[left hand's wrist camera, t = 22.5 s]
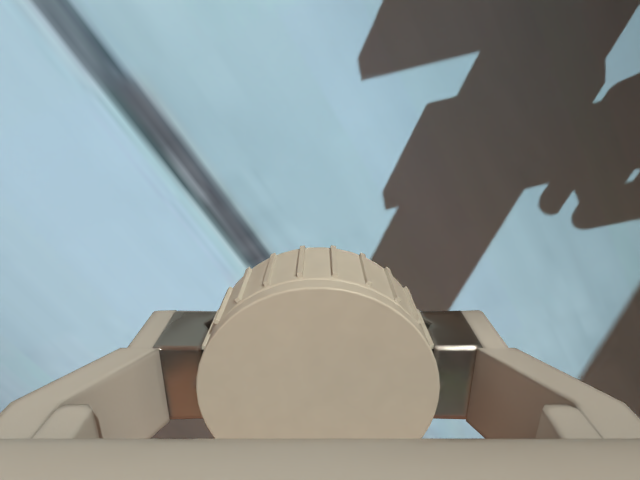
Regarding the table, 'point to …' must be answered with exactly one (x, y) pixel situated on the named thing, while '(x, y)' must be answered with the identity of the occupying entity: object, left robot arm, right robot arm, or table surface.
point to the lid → (318, 353)
